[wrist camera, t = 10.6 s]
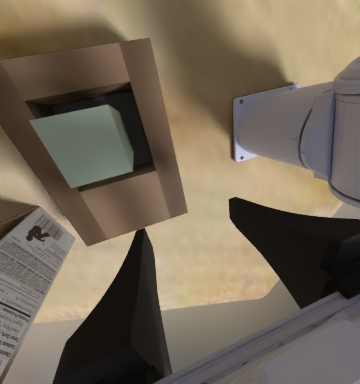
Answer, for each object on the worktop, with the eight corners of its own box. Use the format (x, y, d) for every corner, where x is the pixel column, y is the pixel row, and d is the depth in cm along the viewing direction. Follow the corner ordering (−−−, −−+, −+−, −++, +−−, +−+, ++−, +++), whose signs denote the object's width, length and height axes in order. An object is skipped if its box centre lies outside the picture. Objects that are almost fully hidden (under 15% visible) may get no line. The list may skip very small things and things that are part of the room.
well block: (146, 58, 14) (149, 37, 11) (179, 197, 22) (187, 212, 18) (7, 81, 13) (-42, 66, 9) (95, 224, 20) (87, 246, 17)
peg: (120, 112, 15) (107, 104, 8) (133, 151, 17) (132, 171, 10) (79, 121, 15) (28, 120, 8) (98, 160, 16) (70, 188, 9)
